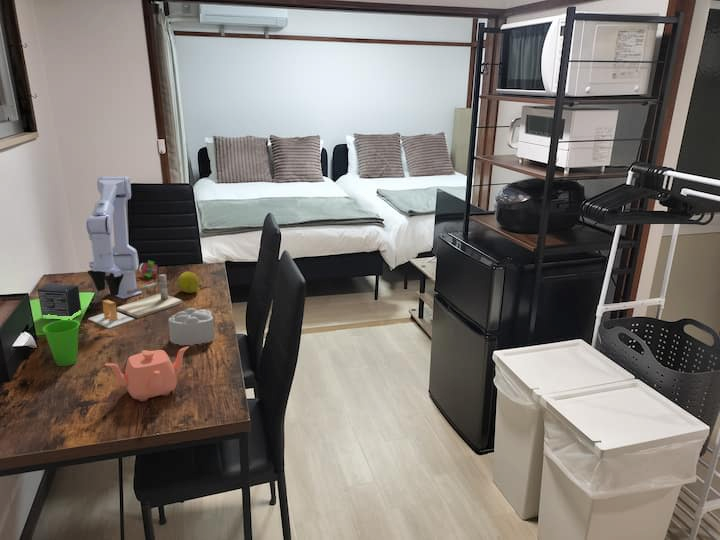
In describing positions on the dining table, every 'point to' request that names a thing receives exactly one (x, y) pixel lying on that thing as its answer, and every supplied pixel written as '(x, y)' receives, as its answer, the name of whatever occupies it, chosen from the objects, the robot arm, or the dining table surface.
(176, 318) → the lumpy-topped squat cylinder
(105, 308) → the c link
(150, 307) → the hook stand
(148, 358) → the teapot
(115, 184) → the robot arm
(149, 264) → the geometric puzzle
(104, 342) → the dining table surface
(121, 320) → the grey mat
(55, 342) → the cup
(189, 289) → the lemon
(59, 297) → the small box
